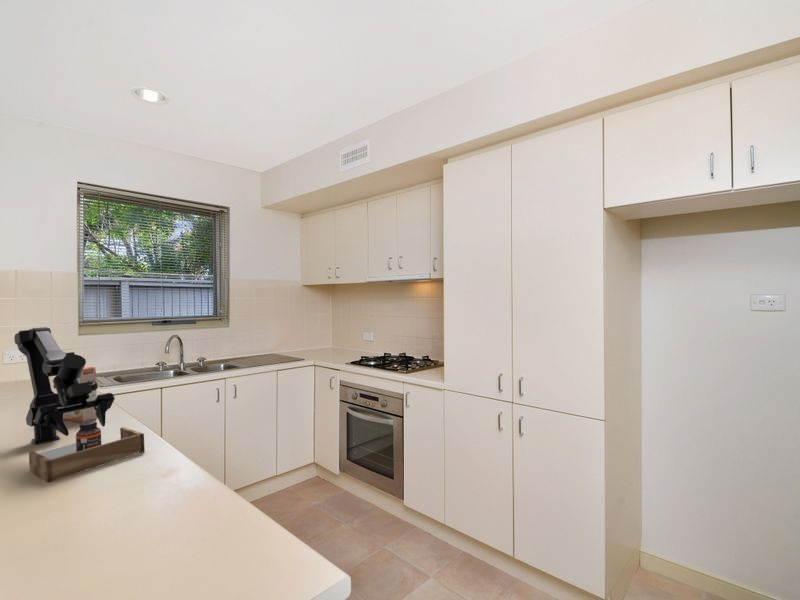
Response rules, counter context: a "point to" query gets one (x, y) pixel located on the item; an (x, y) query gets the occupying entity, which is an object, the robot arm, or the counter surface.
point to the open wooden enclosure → (86, 457)
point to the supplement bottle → (88, 436)
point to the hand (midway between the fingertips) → (86, 430)
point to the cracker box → (89, 413)
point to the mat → (59, 451)
